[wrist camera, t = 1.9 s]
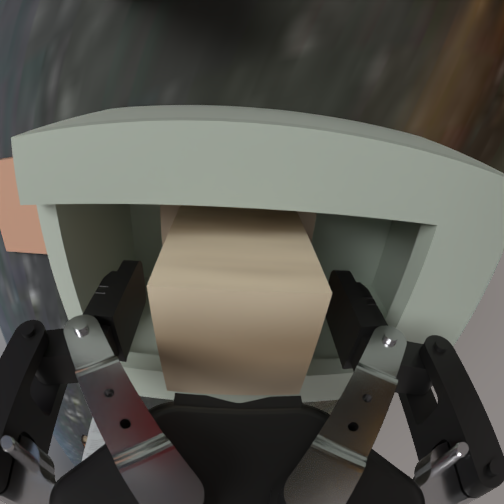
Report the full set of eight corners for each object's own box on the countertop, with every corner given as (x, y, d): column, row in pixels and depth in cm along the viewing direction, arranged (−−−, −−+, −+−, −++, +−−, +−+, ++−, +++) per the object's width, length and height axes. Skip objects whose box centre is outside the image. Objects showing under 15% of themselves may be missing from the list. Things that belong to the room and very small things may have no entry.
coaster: (-9, 160, 16) (-13, 162, 15) (64, 149, 16) (60, 151, 16) (10, 247, 20) (6, 251, 19) (79, 252, 20) (76, 255, 20)
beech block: (181, 202, 13) (146, 286, 8) (295, 208, 13) (332, 293, 8) (185, 294, 15) (167, 390, 10) (281, 298, 16) (299, 394, 11)
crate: (114, 108, 16) (11, 137, 7) (419, 136, 17) (525, 185, 8) (129, 282, 22) (86, 386, 13) (376, 291, 24) (426, 385, 15)
